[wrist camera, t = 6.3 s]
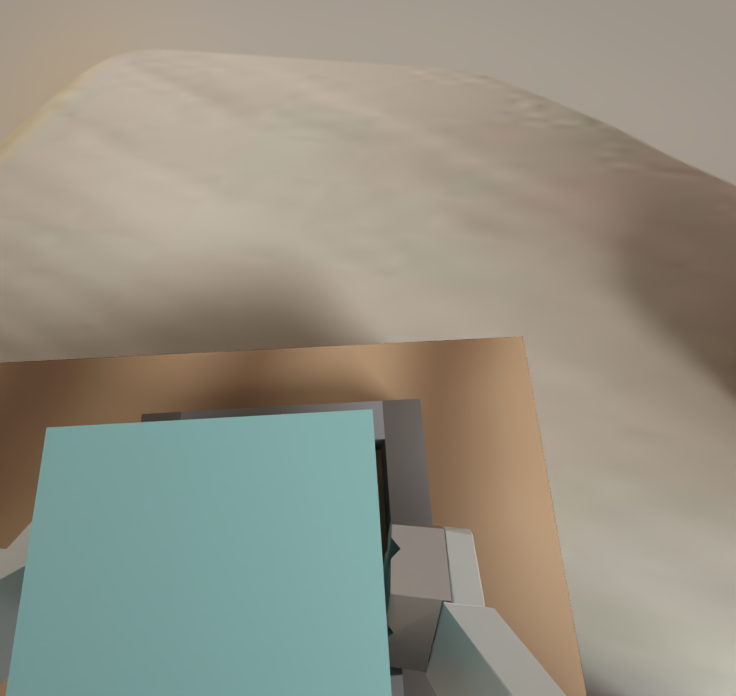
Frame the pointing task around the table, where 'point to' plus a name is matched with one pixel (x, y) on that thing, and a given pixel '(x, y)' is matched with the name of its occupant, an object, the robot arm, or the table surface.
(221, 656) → the teal rectangular block
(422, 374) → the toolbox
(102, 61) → the table surface
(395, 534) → the robot arm
